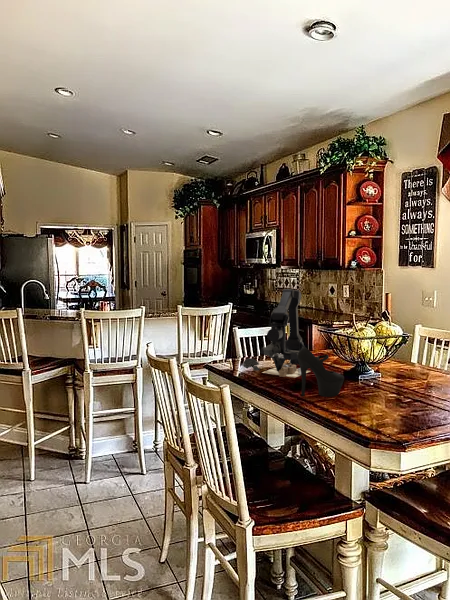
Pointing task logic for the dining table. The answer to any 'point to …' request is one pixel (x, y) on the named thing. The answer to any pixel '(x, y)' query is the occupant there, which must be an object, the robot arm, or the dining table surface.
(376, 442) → the dining table surface
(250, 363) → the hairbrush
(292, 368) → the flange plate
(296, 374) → the birch board
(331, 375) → the high-heeled shoe
